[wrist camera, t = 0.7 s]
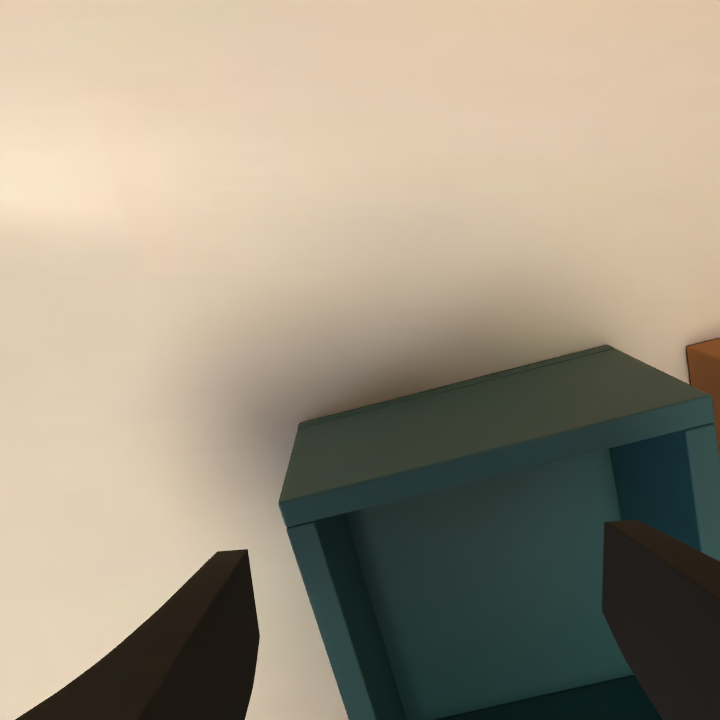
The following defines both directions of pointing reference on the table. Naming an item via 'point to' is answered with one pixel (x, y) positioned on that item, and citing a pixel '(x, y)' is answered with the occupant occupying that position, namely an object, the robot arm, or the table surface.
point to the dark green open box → (494, 535)
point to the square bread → (707, 374)
